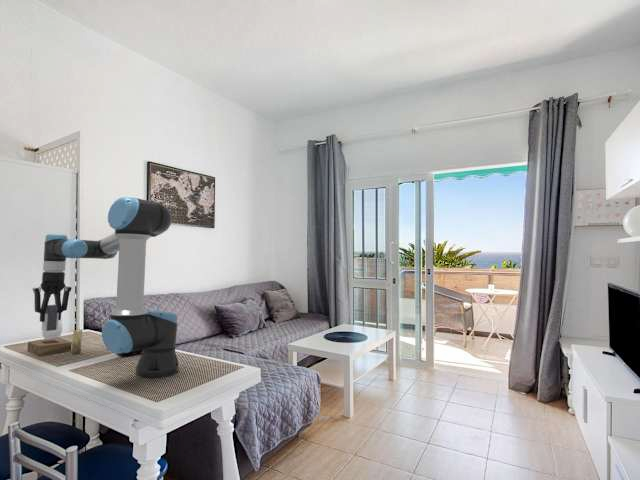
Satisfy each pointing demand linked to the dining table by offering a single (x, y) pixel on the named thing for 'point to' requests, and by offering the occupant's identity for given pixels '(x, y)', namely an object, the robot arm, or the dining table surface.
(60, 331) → the white air blower
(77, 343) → the round bit
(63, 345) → the socket board
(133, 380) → the dining table surface
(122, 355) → the end cap
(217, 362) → the dining table surface
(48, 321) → the square bit
